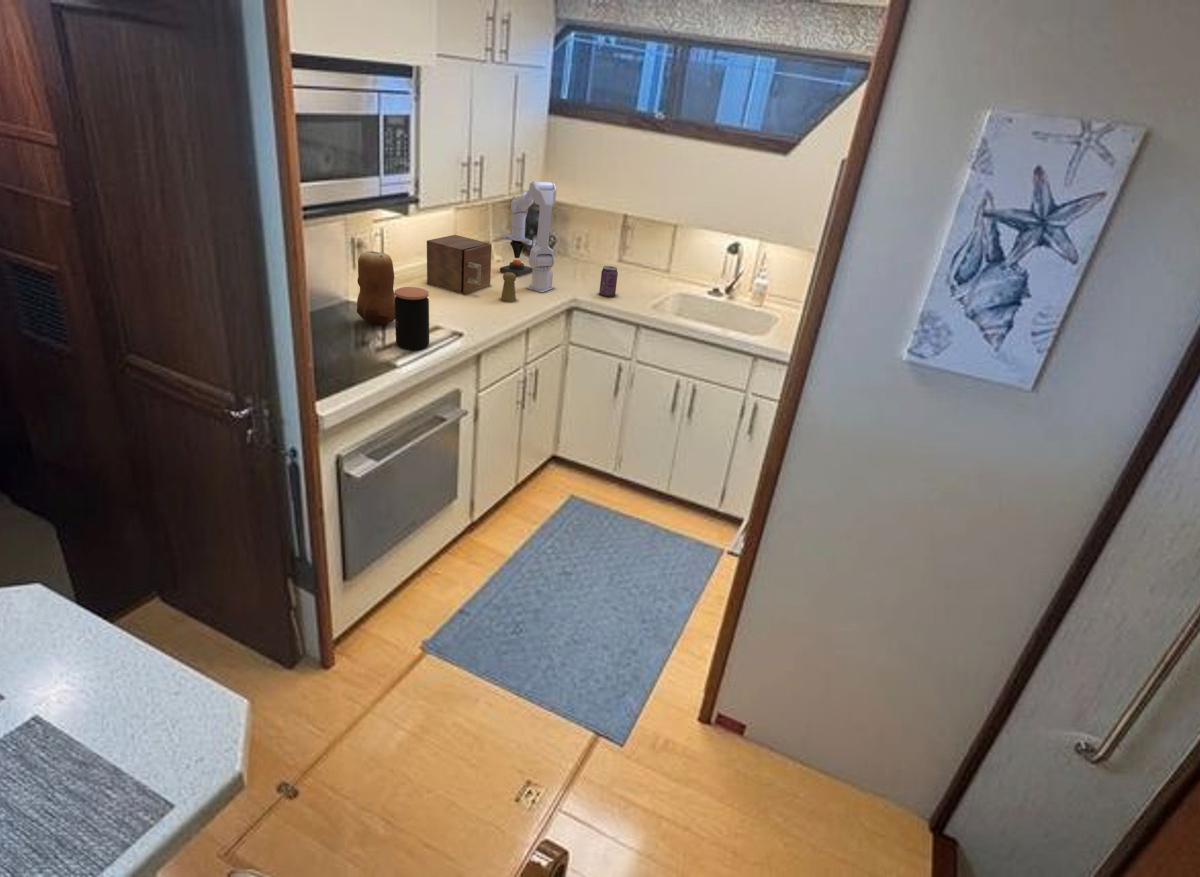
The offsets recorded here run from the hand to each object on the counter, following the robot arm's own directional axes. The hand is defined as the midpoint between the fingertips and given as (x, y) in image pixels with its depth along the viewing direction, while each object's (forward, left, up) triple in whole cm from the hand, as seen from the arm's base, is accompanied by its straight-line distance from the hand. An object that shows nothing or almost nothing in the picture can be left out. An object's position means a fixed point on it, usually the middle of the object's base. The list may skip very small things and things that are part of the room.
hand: (517, 257), depth 316 cm
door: (+36, +8, -7) cm, 37 cm away
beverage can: (-2, +47, -7) cm, 48 cm away
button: (0, 0, -3) cm, 3 cm away
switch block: (0, 0, -7) cm, 7 cm away
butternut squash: (+94, +7, -7) cm, 94 cm away
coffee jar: (+101, +29, -7) cm, 105 cm away
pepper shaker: (+37, +22, -7) cm, 44 cm away
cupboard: (+36, -5, -7) cm, 37 cm away
